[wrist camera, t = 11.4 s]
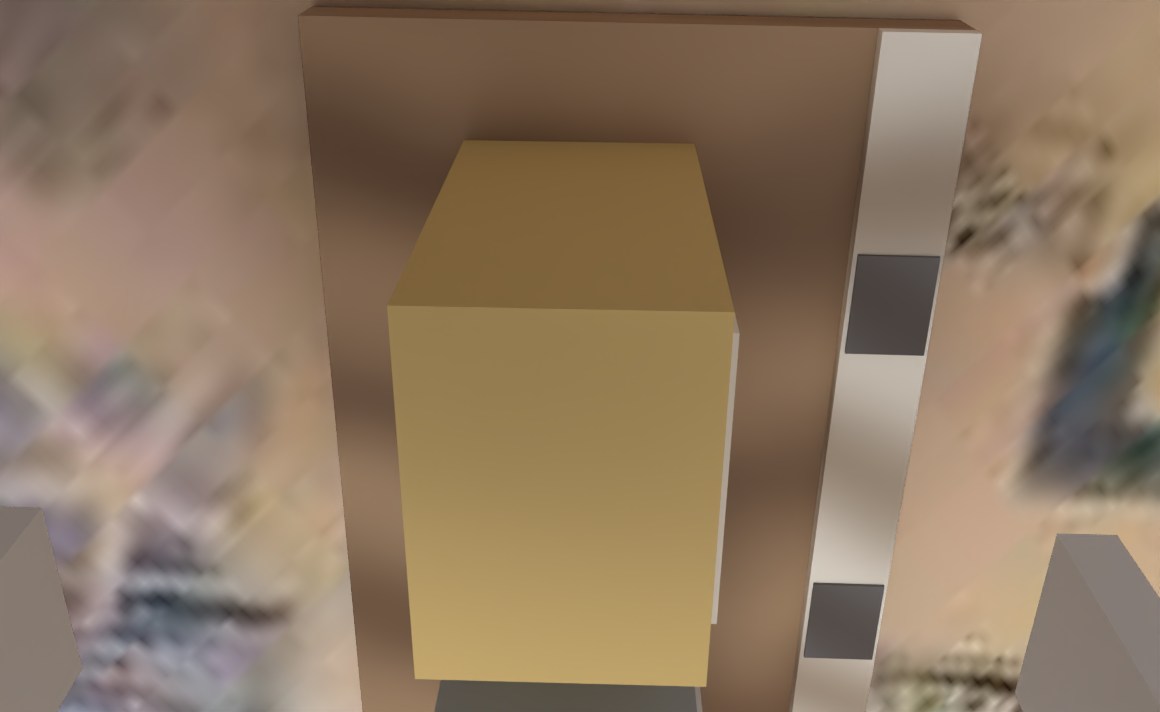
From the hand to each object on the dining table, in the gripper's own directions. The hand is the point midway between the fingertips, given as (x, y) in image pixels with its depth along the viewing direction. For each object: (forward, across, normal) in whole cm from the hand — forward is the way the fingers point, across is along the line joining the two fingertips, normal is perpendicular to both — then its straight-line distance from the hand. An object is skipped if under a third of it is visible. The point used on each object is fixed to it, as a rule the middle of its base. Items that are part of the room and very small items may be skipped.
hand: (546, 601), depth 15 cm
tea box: (+12, 0, -1) cm, 12 cm away
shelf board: (+13, +1, -5) cm, 14 cm away
